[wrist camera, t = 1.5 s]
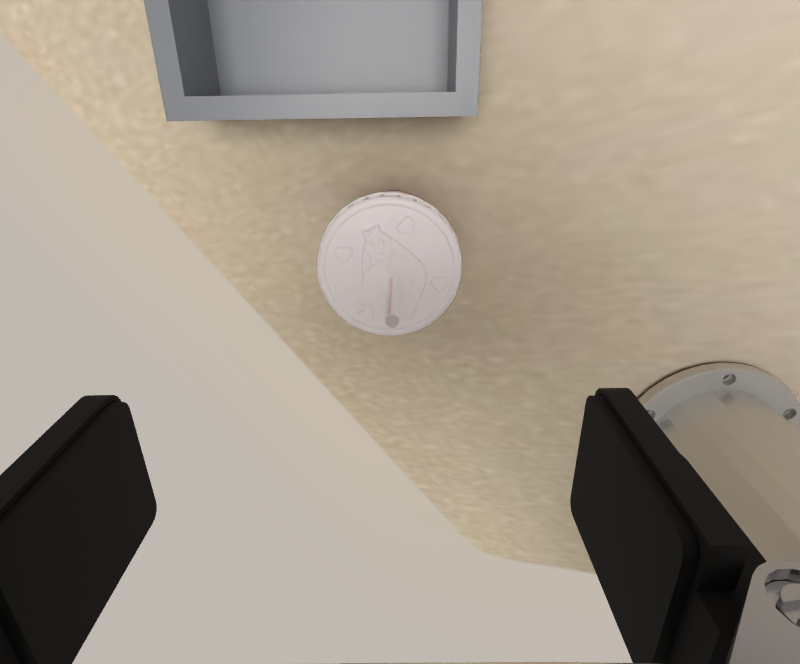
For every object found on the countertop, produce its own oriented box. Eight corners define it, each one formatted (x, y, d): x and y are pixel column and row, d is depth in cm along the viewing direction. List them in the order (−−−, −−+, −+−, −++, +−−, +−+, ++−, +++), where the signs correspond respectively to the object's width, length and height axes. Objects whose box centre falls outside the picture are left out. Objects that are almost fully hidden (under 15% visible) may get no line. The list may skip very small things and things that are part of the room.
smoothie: (368, 287, 33) (345, 408, 20) (321, 193, 30) (261, 263, 18) (462, 248, 32) (500, 349, 19) (421, 147, 29) (434, 185, 17)
